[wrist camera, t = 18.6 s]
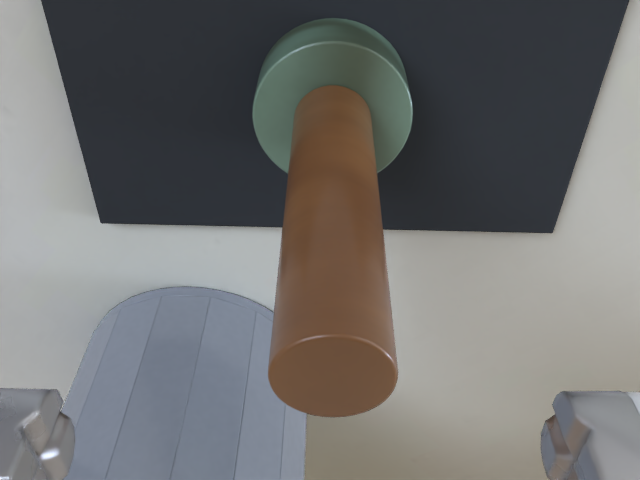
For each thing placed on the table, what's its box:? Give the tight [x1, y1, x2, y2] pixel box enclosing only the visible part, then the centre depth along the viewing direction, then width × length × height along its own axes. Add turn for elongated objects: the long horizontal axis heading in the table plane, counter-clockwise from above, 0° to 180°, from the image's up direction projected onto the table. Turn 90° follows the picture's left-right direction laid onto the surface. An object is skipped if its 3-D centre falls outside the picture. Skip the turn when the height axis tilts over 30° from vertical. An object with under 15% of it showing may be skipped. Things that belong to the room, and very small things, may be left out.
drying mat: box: [41, 0, 629, 233], centre depth 20 cm, size 18×12×1 cm, turn 89°
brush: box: [252, 18, 413, 417], centre depth 16 cm, size 5×5×12 cm
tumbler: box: [61, 287, 307, 480], centre depth 26 cm, size 11×11×10 cm
